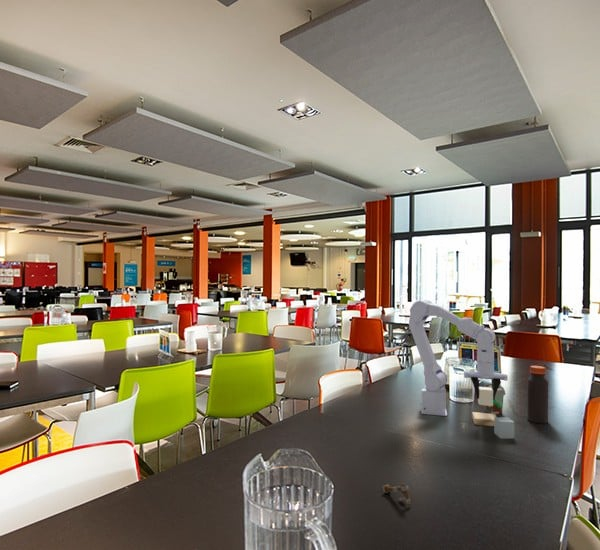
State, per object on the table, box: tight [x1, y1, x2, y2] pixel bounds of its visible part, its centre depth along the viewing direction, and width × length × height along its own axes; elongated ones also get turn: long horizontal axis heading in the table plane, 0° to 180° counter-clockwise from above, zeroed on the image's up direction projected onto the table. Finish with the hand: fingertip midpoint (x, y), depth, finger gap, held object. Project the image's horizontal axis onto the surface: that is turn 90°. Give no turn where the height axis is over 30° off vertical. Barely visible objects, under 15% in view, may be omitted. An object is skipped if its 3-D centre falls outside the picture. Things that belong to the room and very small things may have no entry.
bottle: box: [526, 365, 549, 425], centre depth 155 cm, size 7×7×20 cm
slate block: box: [493, 416, 515, 440], centre depth 140 cm, size 4×4×6 cm
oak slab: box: [471, 411, 498, 427], centre depth 154 cm, size 8×8×2 cm
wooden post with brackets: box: [382, 483, 412, 507], centre depth 99 cm, size 2×8×4 cm, turn 31°
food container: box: [484, 382, 506, 417], centre depth 164 cm, size 12×6×10 cm, turn 168°
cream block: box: [477, 386, 493, 406], centre depth 153 cm, size 4×4×6 cm
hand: (485, 398), depth 154 cm, fingers closed on cream block, 4 cm apart
